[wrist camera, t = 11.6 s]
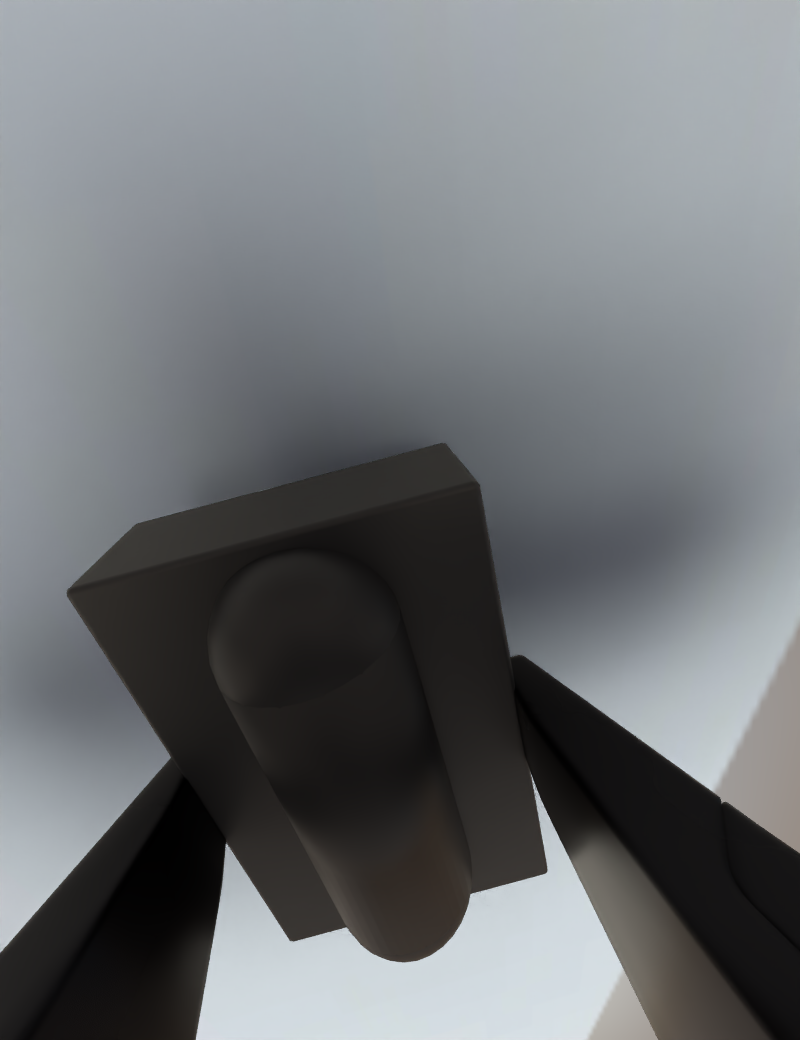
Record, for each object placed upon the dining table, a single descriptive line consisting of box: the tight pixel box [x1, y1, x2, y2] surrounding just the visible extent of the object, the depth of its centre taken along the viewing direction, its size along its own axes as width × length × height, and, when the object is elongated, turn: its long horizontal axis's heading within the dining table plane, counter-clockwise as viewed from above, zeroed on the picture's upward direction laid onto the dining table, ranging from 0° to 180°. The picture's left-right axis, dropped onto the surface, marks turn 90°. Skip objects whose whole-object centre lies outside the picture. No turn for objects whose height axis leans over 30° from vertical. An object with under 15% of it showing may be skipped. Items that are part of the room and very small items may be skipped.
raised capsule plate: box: [67, 443, 547, 962], centre depth 7 cm, size 8×5×3 cm, turn 13°
